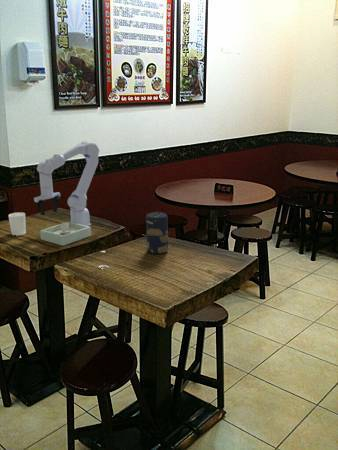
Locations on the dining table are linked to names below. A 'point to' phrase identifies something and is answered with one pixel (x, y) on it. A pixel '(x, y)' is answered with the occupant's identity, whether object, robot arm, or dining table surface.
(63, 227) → the peg
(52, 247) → the dining table surface
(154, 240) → the canister
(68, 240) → the caddy
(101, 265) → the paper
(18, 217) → the white cup
